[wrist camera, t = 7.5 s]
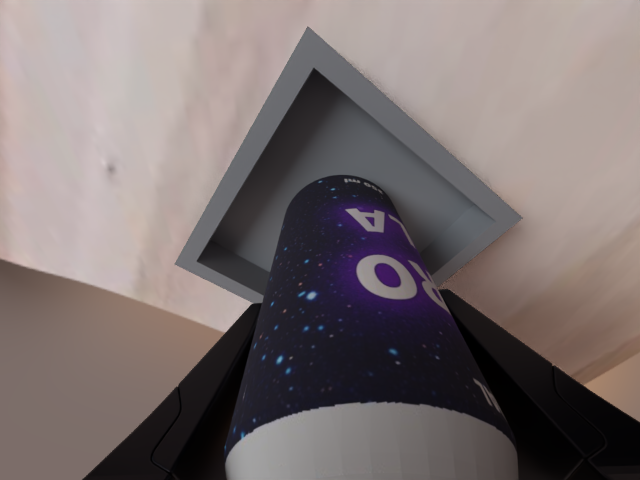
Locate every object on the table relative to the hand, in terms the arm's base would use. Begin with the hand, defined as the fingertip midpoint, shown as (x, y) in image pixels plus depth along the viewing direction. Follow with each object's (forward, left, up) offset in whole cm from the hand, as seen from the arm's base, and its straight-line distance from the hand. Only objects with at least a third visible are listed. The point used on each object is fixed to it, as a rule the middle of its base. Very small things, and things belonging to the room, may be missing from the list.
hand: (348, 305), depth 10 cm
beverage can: (0, 0, -6) cm, 6 cm away
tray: (0, 0, -7) cm, 7 cm away
